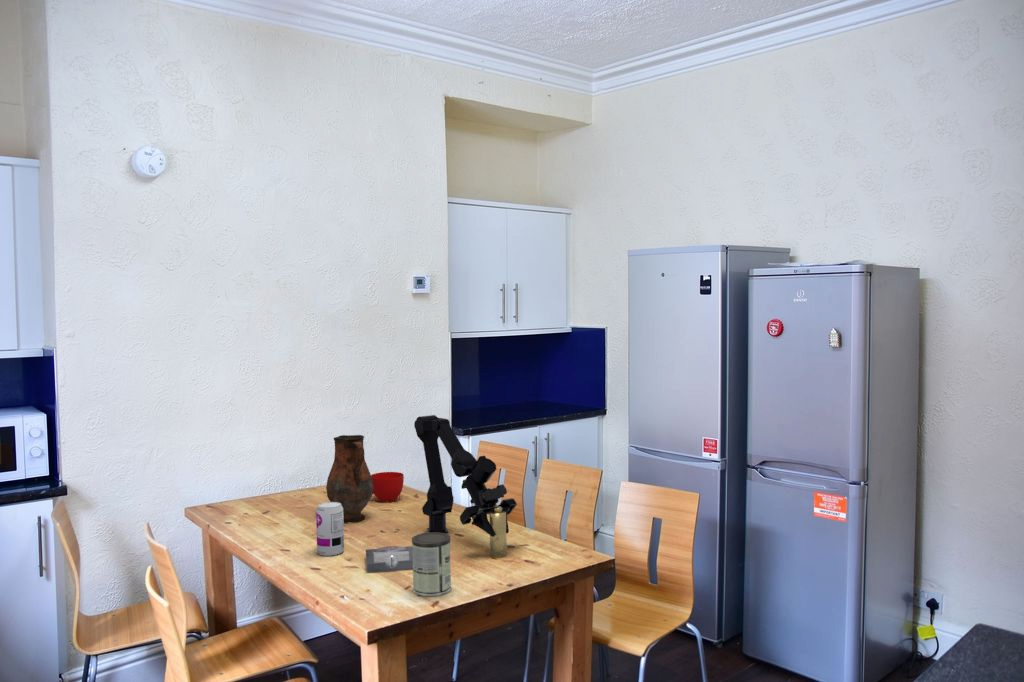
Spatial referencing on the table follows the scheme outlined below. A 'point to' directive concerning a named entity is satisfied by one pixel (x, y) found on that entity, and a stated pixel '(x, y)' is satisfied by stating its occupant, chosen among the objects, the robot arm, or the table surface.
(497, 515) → the brass weight
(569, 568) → the table surface
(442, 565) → the coffee can
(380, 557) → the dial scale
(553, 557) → the table surface
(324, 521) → the supplement can
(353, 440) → the pitcher
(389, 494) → the ceramic cup
